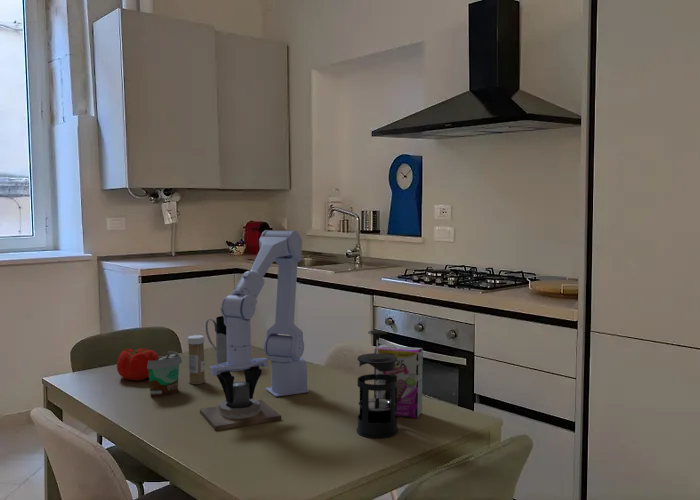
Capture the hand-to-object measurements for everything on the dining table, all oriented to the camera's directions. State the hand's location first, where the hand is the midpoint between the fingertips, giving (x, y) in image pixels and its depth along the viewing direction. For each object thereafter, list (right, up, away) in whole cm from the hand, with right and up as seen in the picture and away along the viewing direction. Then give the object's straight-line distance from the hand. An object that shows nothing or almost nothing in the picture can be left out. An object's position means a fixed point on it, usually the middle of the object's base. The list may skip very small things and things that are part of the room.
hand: (239, 400), depth 159 cm
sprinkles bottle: (-17, -2, +30) cm, 34 cm away
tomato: (-36, -2, +35) cm, 50 cm away
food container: (-23, -3, +20) cm, 30 cm away
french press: (+33, -5, -10) cm, 35 cm away
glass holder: (-14, 0, +52) cm, 54 cm away
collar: (0, -4, 0) cm, 4 cm away
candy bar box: (+38, -4, +2) cm, 39 cm away
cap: (0, -2, 0) cm, 2 cm away
